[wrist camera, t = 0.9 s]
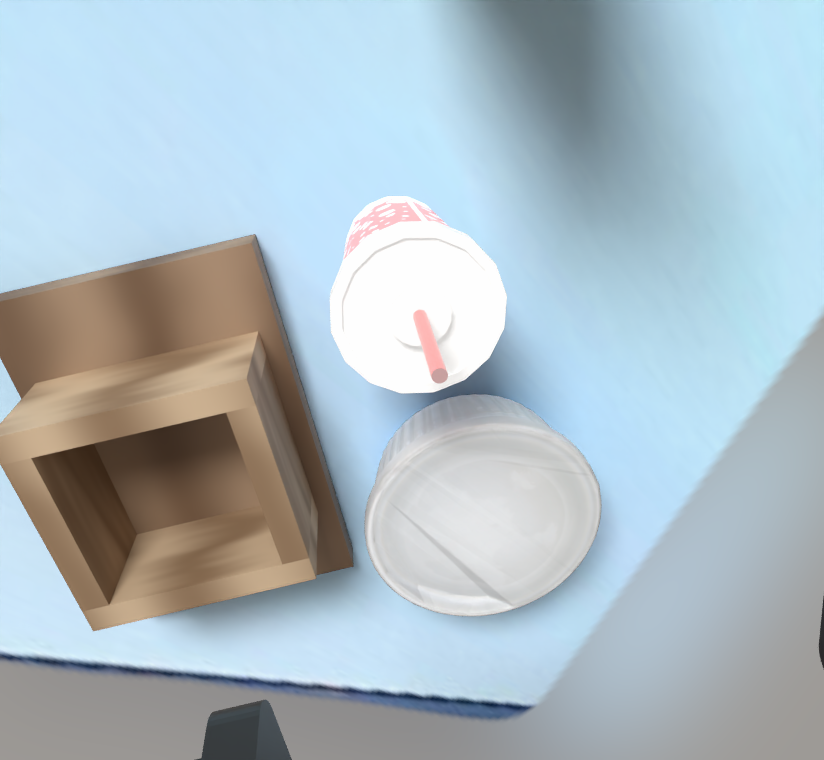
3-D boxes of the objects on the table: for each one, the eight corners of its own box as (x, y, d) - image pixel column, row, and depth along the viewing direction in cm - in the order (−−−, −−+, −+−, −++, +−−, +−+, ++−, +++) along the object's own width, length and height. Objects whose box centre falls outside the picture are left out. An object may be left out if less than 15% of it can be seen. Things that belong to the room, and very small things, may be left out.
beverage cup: (319, 298, 33) (312, 456, 20) (341, 164, 30) (349, 249, 18) (446, 320, 34) (514, 481, 21) (477, 192, 31) (576, 290, 19)
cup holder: (255, 234, 31) (237, 277, 25) (352, 548, 39) (356, 636, 33) (-11, 296, 31) (-89, 354, 25) (141, 598, 39) (108, 695, 33)
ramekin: (338, 534, 39) (339, 602, 34) (393, 351, 34) (403, 400, 30) (526, 565, 41) (551, 633, 36) (599, 399, 37) (639, 451, 32)
